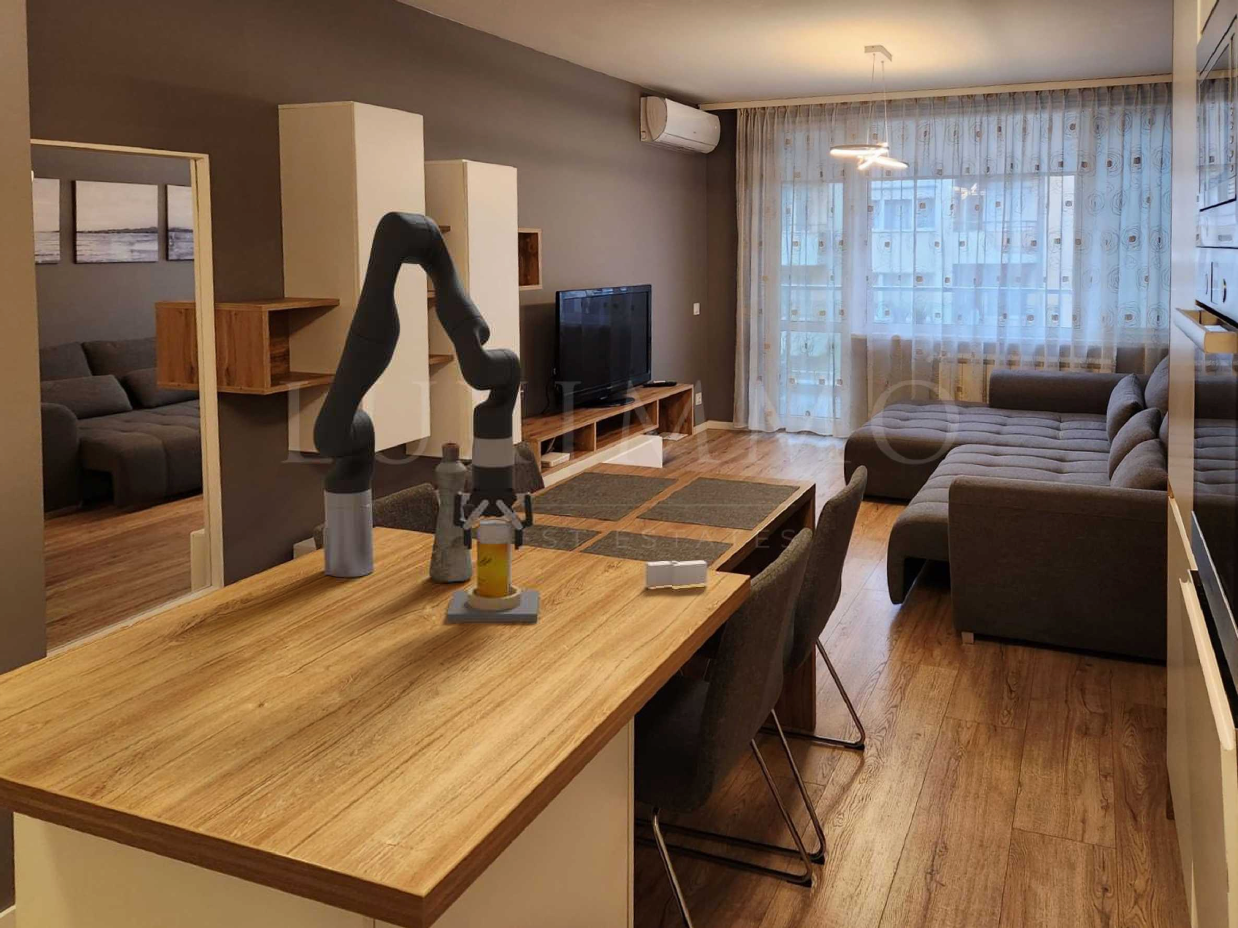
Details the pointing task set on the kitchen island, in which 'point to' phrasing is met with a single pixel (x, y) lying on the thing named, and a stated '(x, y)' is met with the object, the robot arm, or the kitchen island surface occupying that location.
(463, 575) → the bottle
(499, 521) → the beer can
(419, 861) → the kitchen island surface
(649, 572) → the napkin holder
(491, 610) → the socket board
